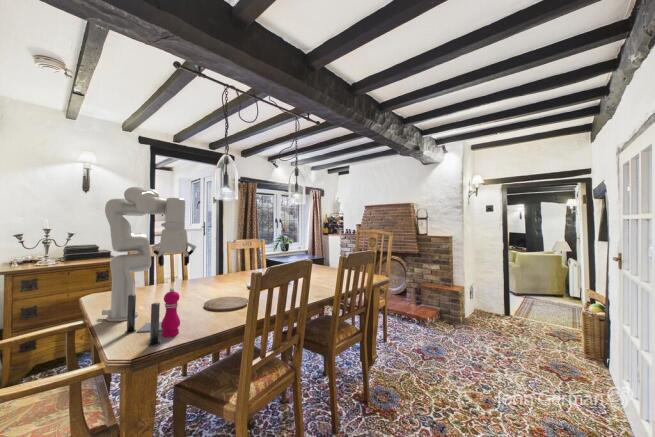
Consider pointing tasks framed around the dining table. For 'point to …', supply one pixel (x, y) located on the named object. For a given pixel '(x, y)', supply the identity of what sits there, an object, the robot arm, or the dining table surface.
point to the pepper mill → (171, 315)
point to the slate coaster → (148, 328)
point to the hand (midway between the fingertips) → (173, 265)
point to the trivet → (226, 304)
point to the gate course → (154, 320)
